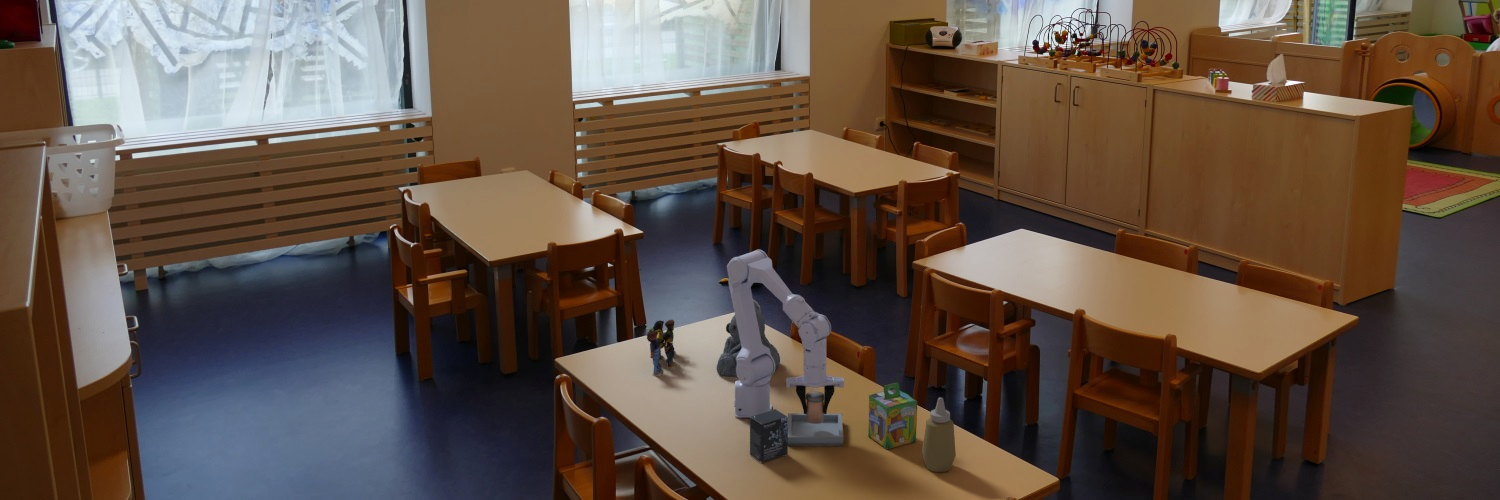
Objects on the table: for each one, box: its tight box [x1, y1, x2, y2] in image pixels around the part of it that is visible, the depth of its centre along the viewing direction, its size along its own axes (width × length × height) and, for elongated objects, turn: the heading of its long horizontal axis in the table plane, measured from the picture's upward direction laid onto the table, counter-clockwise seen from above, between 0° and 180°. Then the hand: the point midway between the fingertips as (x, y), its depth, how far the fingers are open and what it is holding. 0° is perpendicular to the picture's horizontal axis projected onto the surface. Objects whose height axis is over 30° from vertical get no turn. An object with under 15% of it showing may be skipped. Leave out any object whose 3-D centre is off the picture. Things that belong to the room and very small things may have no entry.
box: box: [749, 408, 789, 464], centre depth 288 cm, size 8×6×11 cm
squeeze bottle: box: [921, 397, 957, 473], centre depth 280 cm, size 8×8×18 cm
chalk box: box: [867, 382, 918, 450], centre depth 295 cm, size 9×9×15 cm
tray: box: [787, 412, 844, 447], centre depth 301 cm, size 14×14×2 cm
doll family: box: [645, 319, 678, 377], centre depth 345 cm, size 23×9×13 cm, turn 6°
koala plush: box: [716, 299, 781, 377], centre depth 341 cm, size 17×18×20 cm
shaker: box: [806, 390, 824, 424], centre depth 299 cm, size 5×5×7 cm
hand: (815, 412), depth 299 cm, fingers closed on shaker, 4 cm apart
